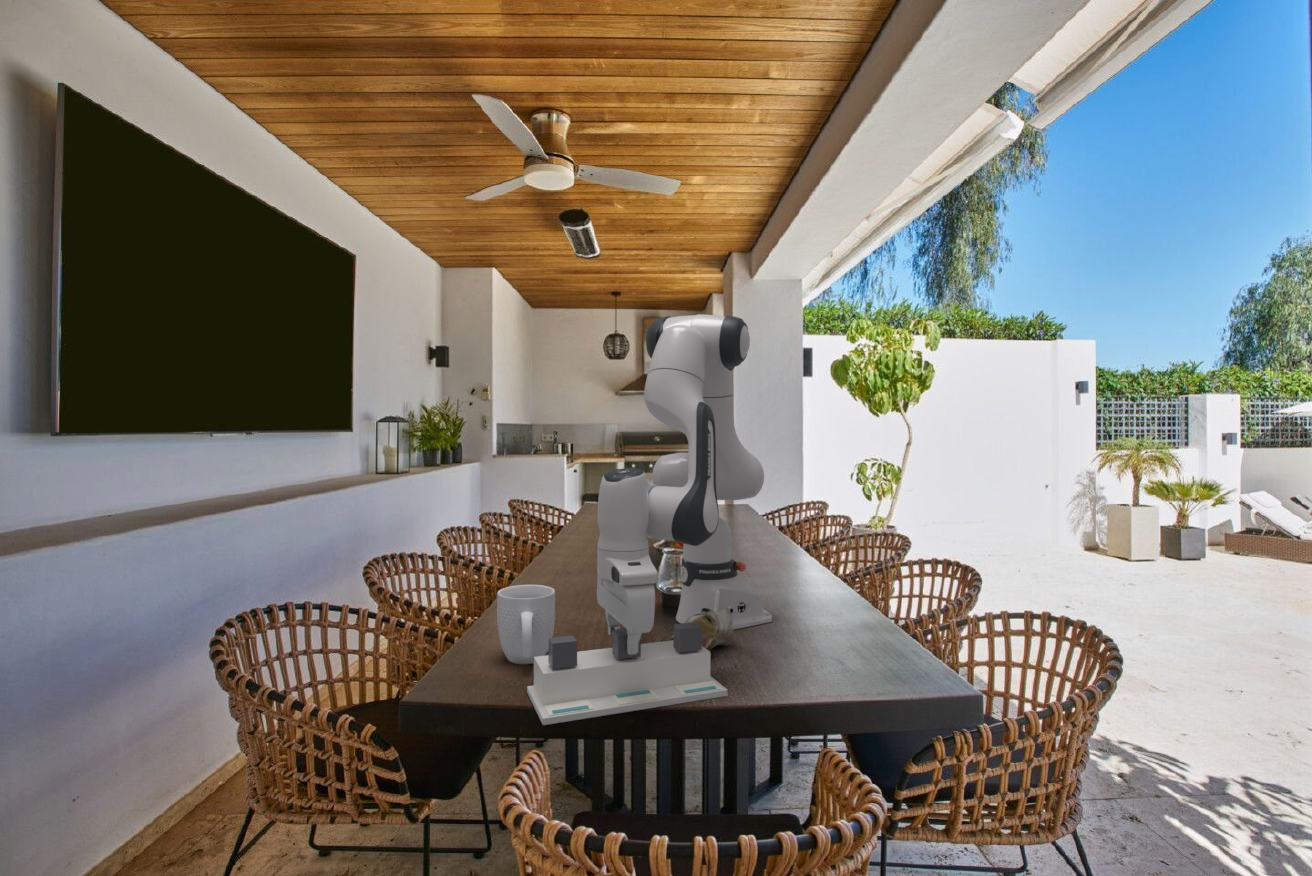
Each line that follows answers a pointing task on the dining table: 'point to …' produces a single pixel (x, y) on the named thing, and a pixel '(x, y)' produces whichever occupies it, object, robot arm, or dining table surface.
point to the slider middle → (622, 645)
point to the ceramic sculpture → (712, 627)
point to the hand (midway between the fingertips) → (622, 644)
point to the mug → (525, 621)
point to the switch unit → (621, 682)
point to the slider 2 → (687, 637)
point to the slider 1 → (562, 652)
